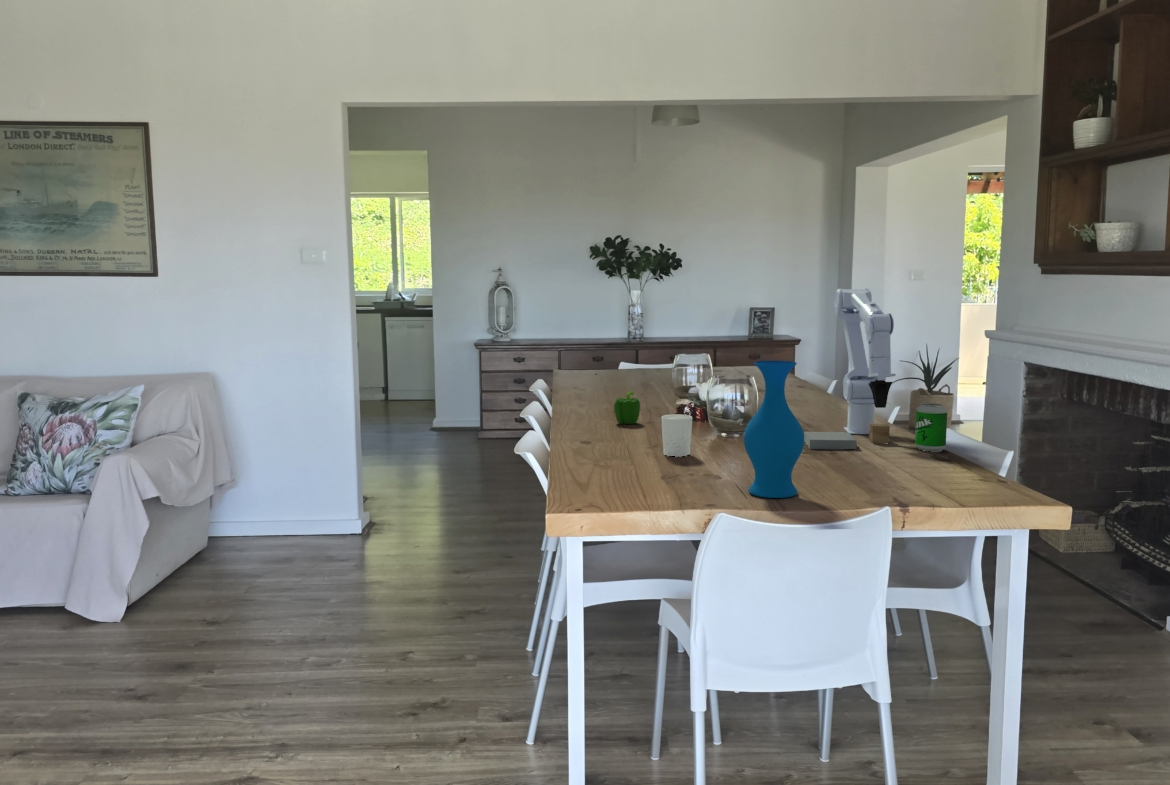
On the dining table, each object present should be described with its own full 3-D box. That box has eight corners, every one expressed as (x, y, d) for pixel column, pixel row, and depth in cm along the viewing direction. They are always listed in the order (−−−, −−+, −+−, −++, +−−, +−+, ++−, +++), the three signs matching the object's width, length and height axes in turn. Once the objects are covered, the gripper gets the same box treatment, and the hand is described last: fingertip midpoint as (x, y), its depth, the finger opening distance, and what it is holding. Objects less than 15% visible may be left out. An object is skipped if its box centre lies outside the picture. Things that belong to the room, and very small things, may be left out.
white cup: (688, 458, 221) (688, 419, 220) (658, 456, 224) (658, 418, 222) (694, 452, 228) (695, 415, 227) (665, 451, 231) (665, 413, 230)
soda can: (940, 447, 232) (942, 402, 231) (949, 453, 225) (951, 407, 223) (911, 447, 233) (913, 402, 231) (919, 452, 225) (921, 406, 224)
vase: (736, 487, 191) (738, 360, 187) (793, 486, 191) (796, 359, 188) (750, 501, 179) (753, 366, 175) (811, 500, 180) (814, 365, 176)
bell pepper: (623, 426, 269) (623, 394, 267) (609, 422, 276) (609, 391, 274) (646, 424, 273) (646, 392, 271) (632, 420, 280) (632, 389, 278)
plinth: (803, 440, 243) (804, 431, 243) (848, 441, 242) (848, 432, 242) (809, 449, 232) (809, 439, 231) (856, 449, 230) (856, 440, 230)
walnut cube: (868, 440, 242) (869, 423, 242) (885, 441, 242) (886, 423, 241) (871, 444, 238) (872, 425, 237) (888, 444, 238) (889, 426, 237)
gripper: (897, 356, 230) (898, 407, 230) (892, 359, 244) (893, 407, 244) (869, 356, 232) (870, 407, 232) (866, 359, 246) (867, 407, 246)
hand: (880, 407), depth 238 cm, fingers open, 7 cm apart
